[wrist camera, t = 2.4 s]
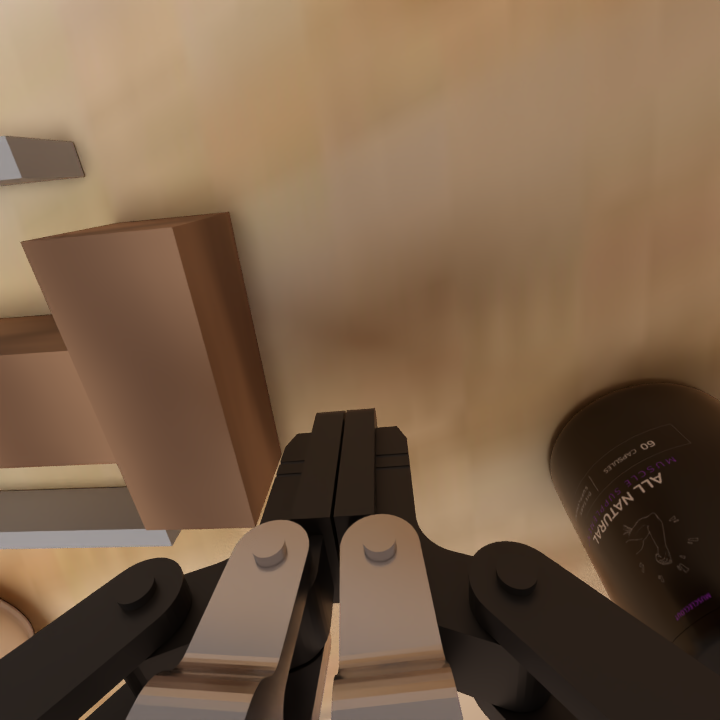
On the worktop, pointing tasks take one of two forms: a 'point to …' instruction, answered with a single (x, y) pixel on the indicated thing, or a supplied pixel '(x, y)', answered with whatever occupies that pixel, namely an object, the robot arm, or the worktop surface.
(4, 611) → the lidded jar
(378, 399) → the worktop surface
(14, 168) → the grey fence
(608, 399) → the supplement bottle
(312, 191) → the worktop surface
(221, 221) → the t block
